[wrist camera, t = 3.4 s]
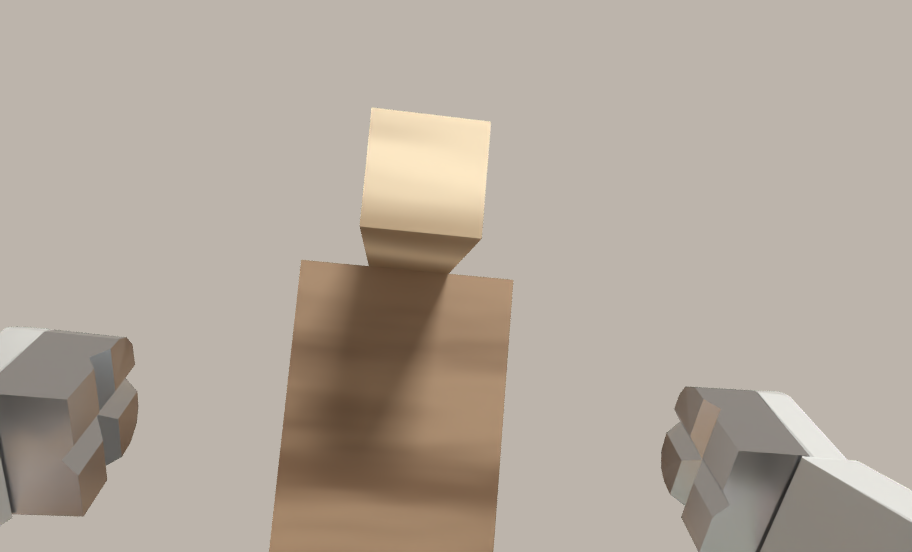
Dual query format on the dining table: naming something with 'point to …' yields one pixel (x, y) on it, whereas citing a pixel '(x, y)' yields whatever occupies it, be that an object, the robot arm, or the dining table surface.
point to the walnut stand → (392, 412)
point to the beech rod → (423, 190)
